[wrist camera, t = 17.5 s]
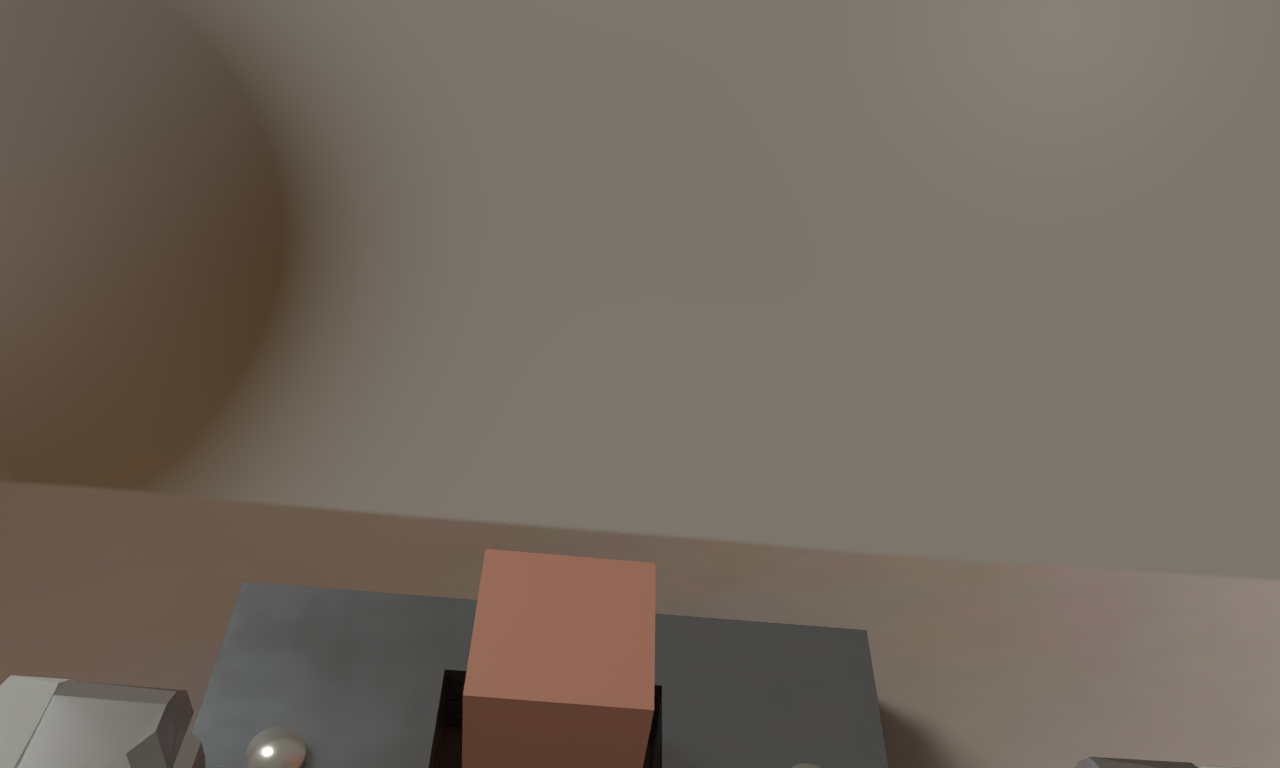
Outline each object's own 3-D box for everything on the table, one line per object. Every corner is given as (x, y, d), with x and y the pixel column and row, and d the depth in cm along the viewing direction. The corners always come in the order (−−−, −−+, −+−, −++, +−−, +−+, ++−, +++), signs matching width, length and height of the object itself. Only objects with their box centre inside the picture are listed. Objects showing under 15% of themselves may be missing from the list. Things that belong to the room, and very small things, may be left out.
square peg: (619, 770, 37) (655, 563, 31) (614, 909, 34) (653, 710, 27) (478, 760, 37) (485, 548, 30) (459, 899, 34) (462, 695, 27)
